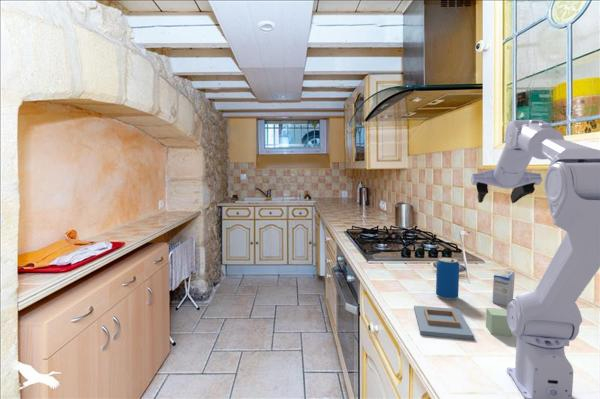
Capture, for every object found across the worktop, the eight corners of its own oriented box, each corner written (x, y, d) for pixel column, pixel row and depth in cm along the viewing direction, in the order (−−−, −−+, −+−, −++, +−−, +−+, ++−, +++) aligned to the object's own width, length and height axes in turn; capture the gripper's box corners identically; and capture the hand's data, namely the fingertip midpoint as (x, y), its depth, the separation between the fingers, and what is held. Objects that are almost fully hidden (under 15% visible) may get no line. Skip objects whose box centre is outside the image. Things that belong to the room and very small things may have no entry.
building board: (473, 339, 81) (474, 331, 81) (420, 334, 84) (420, 326, 84) (458, 312, 97) (458, 305, 97) (414, 308, 100) (414, 302, 99)
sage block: (511, 336, 83) (512, 316, 83) (491, 334, 84) (491, 314, 84) (504, 328, 87) (505, 309, 87) (485, 326, 88) (486, 307, 88)
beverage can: (460, 301, 105) (461, 262, 104) (437, 300, 106) (439, 261, 105) (455, 294, 111) (456, 257, 110) (434, 292, 113) (435, 256, 112)
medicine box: (497, 295, 110) (498, 269, 109) (513, 298, 107) (514, 271, 106) (492, 303, 104) (493, 274, 103) (509, 306, 101) (510, 277, 100)
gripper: (544, 150, 78) (524, 187, 89) (474, 151, 82) (463, 187, 92) (552, 174, 74) (530, 210, 85) (479, 174, 78) (466, 208, 88)
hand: (495, 199), depth 88 cm, fingers open, 7 cm apart
